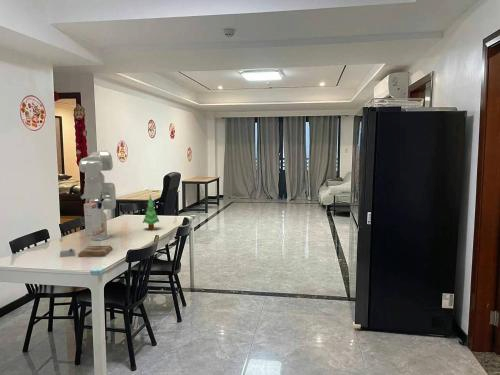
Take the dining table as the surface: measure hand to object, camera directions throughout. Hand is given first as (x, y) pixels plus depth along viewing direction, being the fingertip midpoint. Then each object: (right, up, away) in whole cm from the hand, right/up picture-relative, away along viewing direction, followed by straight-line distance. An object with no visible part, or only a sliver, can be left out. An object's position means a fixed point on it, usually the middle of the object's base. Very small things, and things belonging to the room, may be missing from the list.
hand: (94, 208), depth 228 cm
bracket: (-16, -30, -2) cm, 34 cm away
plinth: (0, -29, +3) cm, 29 cm away
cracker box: (0, -17, +2) cm, 17 cm away
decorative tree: (+16, -23, +75) cm, 80 cm away
